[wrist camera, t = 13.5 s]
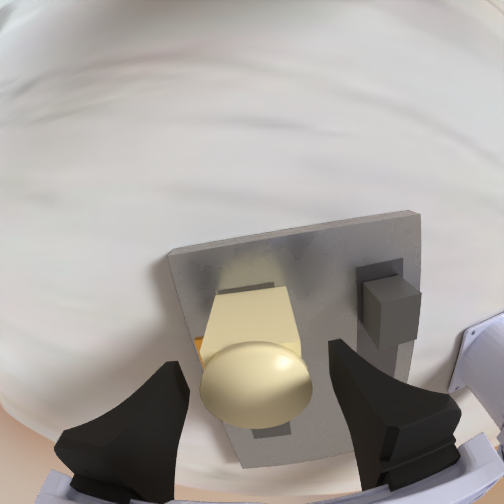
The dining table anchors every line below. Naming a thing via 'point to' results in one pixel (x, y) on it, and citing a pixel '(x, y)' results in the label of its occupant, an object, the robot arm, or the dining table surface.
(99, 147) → the dining table surface
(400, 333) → the block
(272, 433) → the breaker tagged
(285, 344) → the cap
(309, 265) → the panel
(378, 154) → the dining table surface
